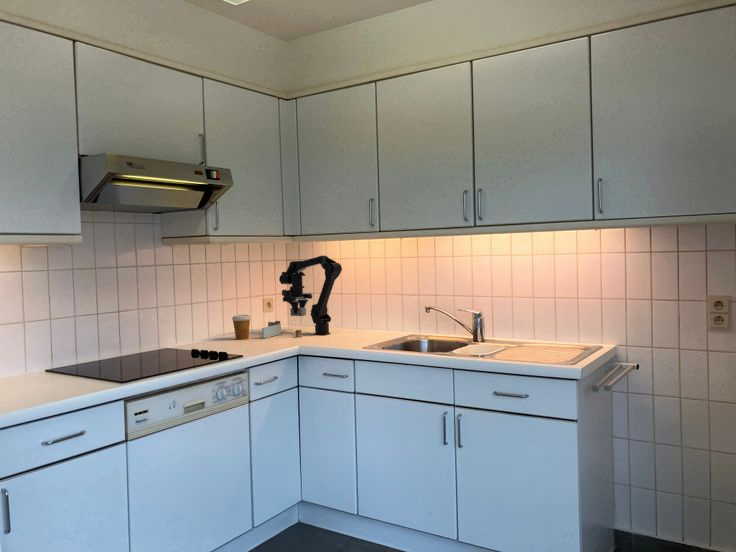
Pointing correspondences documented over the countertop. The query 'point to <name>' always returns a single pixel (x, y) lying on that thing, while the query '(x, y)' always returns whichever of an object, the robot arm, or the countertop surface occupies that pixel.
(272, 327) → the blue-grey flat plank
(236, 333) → the disposable coffee cup
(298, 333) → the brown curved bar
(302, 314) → the grey rectangular block
